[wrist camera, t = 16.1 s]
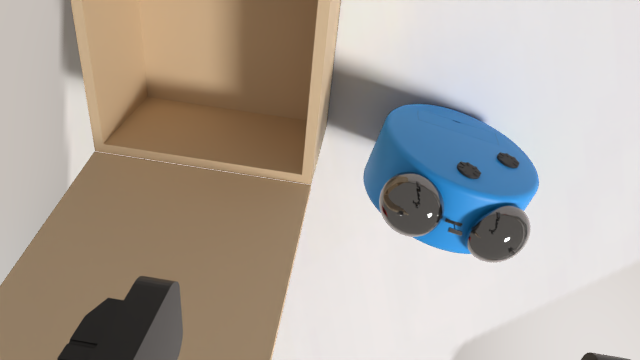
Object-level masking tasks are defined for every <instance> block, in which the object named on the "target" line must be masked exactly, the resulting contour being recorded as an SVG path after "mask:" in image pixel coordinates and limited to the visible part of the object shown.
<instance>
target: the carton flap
mask: <svg viewBox="0 0 640 360" xmlns="http://www.w3.org/2000/svg"><path fill="white" fill-rule="evenodd" d="M310 190H311V185H306V184H300V183H293V182H287V181H280V180H274V179H268V178H261V177H255V176H248V175H242V174H235V173H229V172H223V171H216V170H210V169H203V168H197V167H190V166H184V165H178V164H171V163H165V162H158V161H152V160H145V159H139V158H133V157H126V156H120V155H113V154H107V153H100V152H94V153H93V154H92V156H91V157H90V159H89V160H88V162H87V163H86V164H85V166H84V167H83V169H82V170H81V172H80V173H79V174H78V176H77V177H76V179H75V180H74V182H73V183H72V184H71V186H70V187H69V189H68V190H67V192H66V193H65V194H64V196H63V197H62V199H61V200H60V202H59V203H58V204H57V206H56V207H55V209H54V210H53V211H52V213H51V214H50V216H49V217H48V219H47V220H46V222H45V223H44V224H43V226H42V227H41V229H40V230H39V231H38V233H37V234H36V236H35V237H34V239H33V240H32V241H31V243H30V244H29V246H28V247H27V248H26V250H25V252H24V253H23V254H22V256H21V257H20V259H19V260H18V261H17V263H16V264H15V266H14V267H13V268H12V270H11V271H10V273H9V274H8V276H7V277H6V278H5V280H4V281H3V283H2V284H1V286H0V360H57V358H58V356H59V355H60V353H61V352H62V350H63V349H64V347H65V346H66V344H69V342H70V338H71V337H72V335H73V333H74V332H75V330H76V329H77V327H78V326H79V324H80V323H81V321H82V320H83V318H84V317H85V315H87V314H88V313H89V312H91V311H92V310H93V309H94V308H96V307H97V306H98V305H99V304H101V303H102V302H103V301H105V300H106V299H107V298H113V299H119V300H124V299H125V297H126V295H127V294H128V292H129V290H130V289H131V287H132V285H133V284H134V282H135V281H136V279H137V278H138V277H139V276H147V277H153V278H159V279H165V280H171V281H177V282H178V283H179V286H180V296H181V310H182V324H183V338H182V345H181V349H180V353H179V357H178V360H272V355H273V351H274V347H275V342H276V338H277V334H278V329H279V325H280V321H281V316H282V312H283V308H284V303H285V299H286V295H287V290H288V286H289V282H290V277H291V273H292V269H293V264H294V260H295V256H296V251H297V247H298V243H299V238H300V234H301V230H302V225H303V221H304V217H305V212H306V208H307V204H308V199H309V195H310Z"/></svg>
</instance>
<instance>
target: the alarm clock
mask: <svg viewBox="0 0 640 360" xmlns="http://www.w3.org/2000/svg"><path fill="white" fill-rule="evenodd" d="M364 185H365V188H366V191H367V194H368V196H369V198H370V200H371V201H372V203H373V204H374V205H375V207H376V208H377V209H378V210H379V212H380V213H381V214H382V216H383V218H384V220H385V222H386V223H387V224H388V225H389V226H390V227H391V228H392V229H393V230H394V231H396V232H398V233H400V234H402V235H405V236H409V237H413V238H415V239H417V240H419V241H421V242H423V243H425V244H428V245H430V246H433V247H436V248H439V249H442V250H446V251H450V252H455V253H464V254H472V255H473V256H474V257H476V258H478V259H479V260H482V261H485V262H501V261H505V260H507V259H510V258H512V257H513V256H515V255H516V254H518V253H519V252H520V251H521V250H522V249H523V247H524V246H525V244H526V243H527V241H528V238H529V235H530V222H529V219H528V217H527V215H526V214H525V212H524V210H525V208H526V207H527V205H528V204H529V202H530V201H531V199H532V198H533V196H534V195H535V193H536V192H537V189H538V186H539V180H538V174H537V171H536V169H535V167H534V165H533V163H532V162H531V161H530V159H529V158H528V157H527V155H526V154H525V153H524V152H523V151H522V150H521V149H520V148H519V147H518V146H517V145H516V144H515V143H514V142H512V141H511V140H510V139H509V138H507V137H506V136H505V135H503V134H502V133H500V132H499V131H497V130H496V129H494V128H492V127H491V126H489V125H487V124H485V123H483V122H481V121H479V120H477V119H475V118H473V117H471V116H468V115H466V114H463V113H461V112H458V111H455V110H452V109H448V108H444V107H440V106H435V105H428V104H409V105H404V106H400V107H398V108H396V109H394V110H393V111H391V112H390V113H389V115H388V116H387V118H386V120H385V122H384V124H383V127H382V129H381V131H380V134H379V136H378V139H377V141H376V143H375V146H374V148H373V150H372V153H371V155H370V157H369V160H368V162H367V165H366V167H365V170H364Z"/></svg>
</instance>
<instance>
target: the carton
mask: <svg viewBox="0 0 640 360" xmlns="http://www.w3.org/2000/svg"><path fill="white" fill-rule="evenodd" d="M340 4H341V0H71V6H72V12H73V18H74V24H75V30H76V37H77V43H78V49H79V55H80V61H81V67H82V73H83V80H84V86H85V92H86V98H87V104H88V110H89V116H90V123H91V129H92V135H93V141H94V147H95V151H98V152H105V153H111V154H118V155H124V156H131V157H137V158H144V159H150V160H156V161H163V162H169V163H176V164H182V165H189V166H195V167H201V168H208V169H214V170H221V171H227V172H234V173H240V174H246V175H253V176H259V177H266V178H272V179H279V180H285V181H292V182H298V183H304V184H311V183H312V179H313V176H314V172H315V168H316V164H317V160H318V157H319V153H320V149H321V145H322V141H323V138H324V134H325V130H326V125H327V117H328V108H329V99H330V91H331V82H332V73H333V65H334V56H335V47H336V39H337V30H338V21H339V13H340Z"/></svg>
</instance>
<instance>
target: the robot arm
mask: <svg viewBox="0 0 640 360" xmlns="http://www.w3.org/2000/svg"><path fill="white" fill-rule="evenodd" d="M182 338H183V324H182V310H181V296H180V286H179V283H178V282H177V281H171V280H165V279H159V278H153V277H147V276H139V277H138V278H137V279H136V281H135V282H134V284H133V285H132V287H131V289H130V290H129V292H128V294H127V295H126V297H125V299H124V300H119V299H113V298H107V299H106V300H105V301H103V302H102V303H101V304H99V305H98V306H97V307H96V308H94V309H93V310H92V311H91V312H89V313H88V314H87V315H85V317H84V318H83V320H82V321H81V323H80V324H79V326H78V327H77V329H76V330H75V332H74V333H73V335H72V337H71V338H70V342H69V344H66V346H65V347H64V349H63V350H62V352H61V353H60V355H59V356H58V358H57V360H178V357H179V353H180V349H181V345H182ZM581 360H630V359H625V358H619V357H614V356H607V355H601V354H596V353H587V354H585V355H584V356H583V358H582V359H581Z"/></svg>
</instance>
